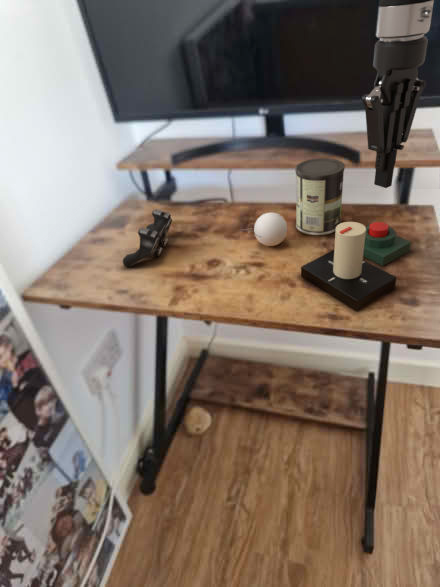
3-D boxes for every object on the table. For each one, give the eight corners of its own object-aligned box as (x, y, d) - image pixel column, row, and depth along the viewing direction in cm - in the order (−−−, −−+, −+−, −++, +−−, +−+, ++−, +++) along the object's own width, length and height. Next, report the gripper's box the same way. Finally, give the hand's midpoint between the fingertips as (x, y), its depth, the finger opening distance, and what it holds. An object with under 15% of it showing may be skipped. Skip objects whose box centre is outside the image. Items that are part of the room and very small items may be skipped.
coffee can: (335, 212, 98) (339, 155, 90) (344, 233, 90) (349, 172, 82) (293, 216, 99) (292, 160, 91) (298, 237, 91) (298, 177, 83)
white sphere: (290, 236, 92) (290, 206, 88) (284, 253, 87) (283, 223, 82) (248, 234, 95) (245, 205, 91) (240, 250, 90) (236, 221, 85)
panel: (395, 288, 73) (397, 276, 72) (356, 311, 69) (357, 299, 68) (337, 257, 83) (338, 246, 81) (300, 277, 79) (300, 265, 78)
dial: (346, 260, 77) (349, 217, 72) (367, 271, 74) (372, 226, 68) (327, 271, 76) (329, 227, 70) (347, 282, 72) (351, 237, 66)
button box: (409, 251, 82) (412, 233, 79) (382, 266, 79) (385, 248, 76) (370, 233, 89) (372, 217, 86) (344, 247, 86) (345, 230, 84)
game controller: (147, 280, 90) (159, 246, 83) (119, 267, 89) (128, 232, 83) (170, 242, 102) (182, 210, 95) (145, 231, 101) (155, 198, 95)
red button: (391, 233, 81) (392, 226, 80) (379, 240, 80) (380, 232, 79) (376, 227, 84) (377, 220, 83) (364, 233, 82) (365, 226, 81)
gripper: (393, 45, 56) (374, 202, 70) (451, 30, 61) (423, 179, 75) (352, 44, 62) (342, 190, 76) (408, 30, 66) (389, 170, 81)
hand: (382, 184), depth 75 cm, fingers closed
